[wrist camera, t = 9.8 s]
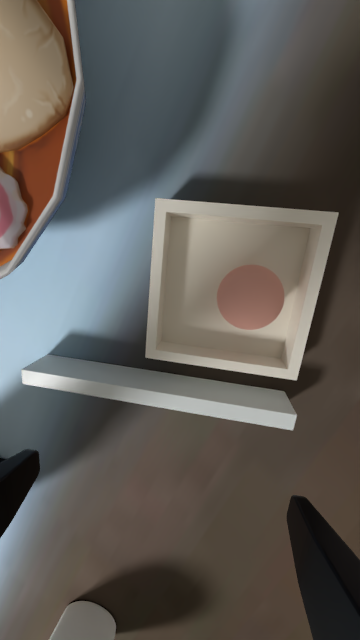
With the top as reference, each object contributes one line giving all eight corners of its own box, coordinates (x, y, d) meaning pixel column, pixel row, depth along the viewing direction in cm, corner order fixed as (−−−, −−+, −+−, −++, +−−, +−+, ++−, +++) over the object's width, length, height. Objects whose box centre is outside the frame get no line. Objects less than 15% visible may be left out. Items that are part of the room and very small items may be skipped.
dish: (153, 345, 20) (145, 357, 17) (163, 205, 17) (155, 198, 15) (286, 365, 19) (296, 380, 16) (320, 218, 16) (338, 212, 13)
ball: (201, 320, 16) (241, 341, 13) (208, 259, 15) (254, 265, 12) (246, 318, 18) (291, 336, 15) (255, 264, 17) (306, 270, 14)
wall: (48, 366, 22) (22, 383, 19) (47, 354, 21) (21, 369, 18) (281, 404, 19) (292, 430, 17) (284, 391, 19) (296, 415, 16)
